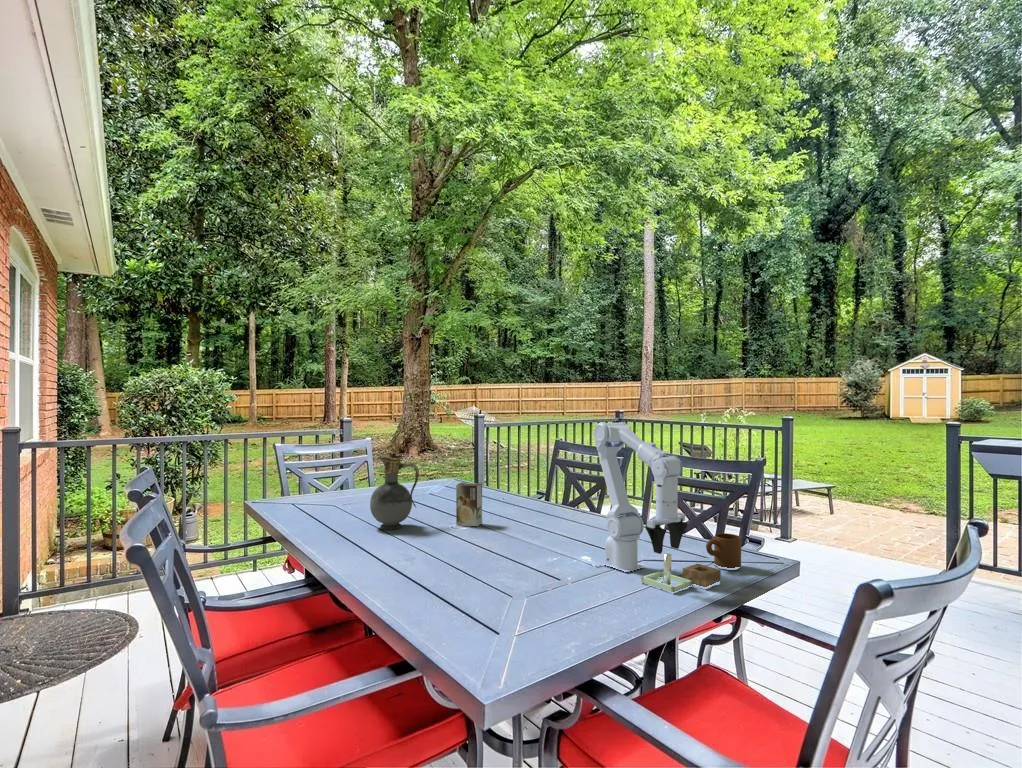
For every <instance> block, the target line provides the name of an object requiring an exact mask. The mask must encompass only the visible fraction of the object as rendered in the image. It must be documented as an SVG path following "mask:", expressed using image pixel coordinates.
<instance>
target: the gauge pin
mask: <svg viewBox="0 0 1022 768" xmlns="http://www.w3.org/2000/svg"><path fill="white" fill-rule="evenodd" d="M672 556H673V555H672V553H663V570H662V572H663V583H664V584H667V585H670V584H671V575H672Z"/></svg>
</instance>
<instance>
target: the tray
mask: <svg viewBox="0 0 1022 768" xmlns="http://www.w3.org/2000/svg"><path fill="white" fill-rule="evenodd" d="M658 577H663V570H659V571H656V572H653V573H650V574H646V575H643V576H641V578H640V579H641V582H642V583H646V584H648V585H652V586H655V587H658V588H661V589H665V590H668V591H671V592H675V591H678V590H680V589H683V588H686V587H688V586H691V585H692V581H691V580H688V579H684V578H683V577H680V576H677V575H674V574H671V580H674V581H677V582H680V584H677V585H675V586H670V585H667V584H664V583H661V582H659V581H658V580H657V579H659V578H658ZM660 579H661V578H660ZM660 579H659V580H660Z"/></svg>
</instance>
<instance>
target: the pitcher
mask: <svg viewBox="0 0 1022 768" xmlns="http://www.w3.org/2000/svg"><path fill="white" fill-rule="evenodd" d="M398 450H399V449H397V448H396V449H395V448H392V450H389V451H388V455H385V456H382V455H379V456H378V457H376V458H375V460H376V461H378V460H381V462H382V463H383V467H384V471H383V472H384V483H383V484H381V485H379V486H378V487H376V488H375V490H374V491H373V493H372V494H371V496H370V500H369V507H370V512H371V514H372V517H373V518H374V519H375V520H376V521H378V522H379V523H381V524H380V529H381V528H382V530H385V529H393V530H396V529H395V528H398V529H400V528H399V527H401V528H402V524H401V522H403V521H405V520H406V519H407V518H408V517H409V515H410V513H411V512H412V506H413V507H415V508H417V506H416V503H415V502H414V500H413V492H414V489H415V487H416V485H417V483H418V480H419V477H420V469H419V467H418V466H417V464H416V463H415V462H410V461H409V462H404V463H401V460H402V458H403V457H404V455H405V454H404V453H400V451H398ZM399 453H400V454H399ZM406 467H412V468H413V469H414V471H415V478H414V483H413V485H412V488H411V489H410V490H409V489H408V488H407V487H406V486H404V485H402V484H400V483H399V472H400V470H401V469H404V468H406Z"/></svg>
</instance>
